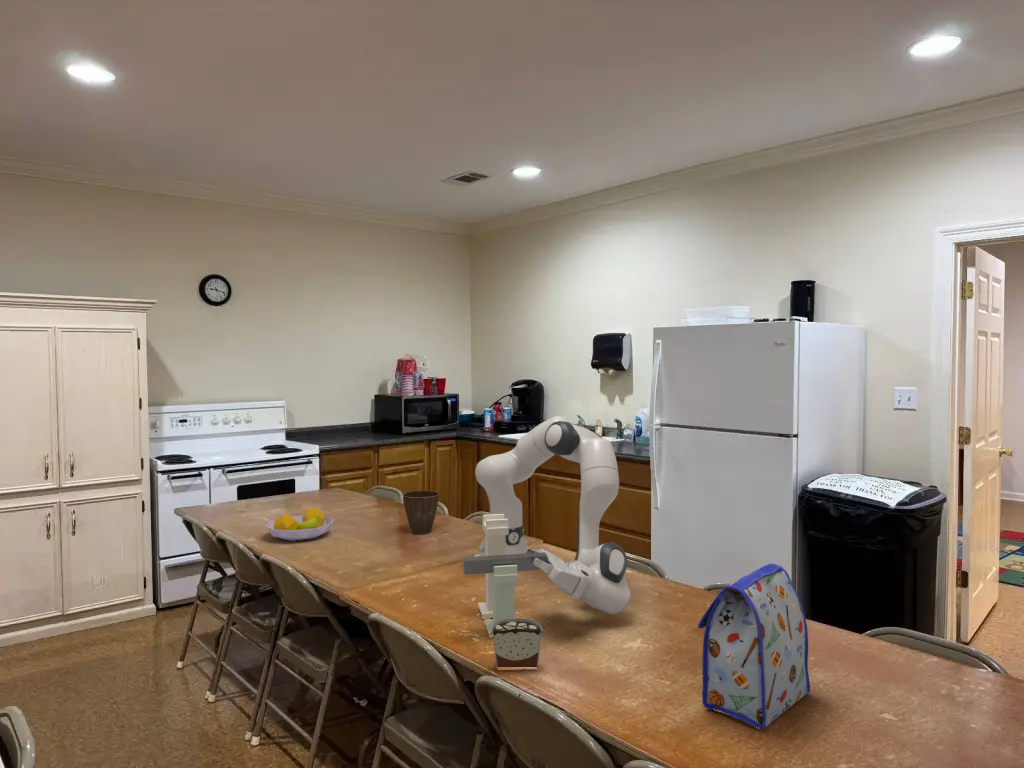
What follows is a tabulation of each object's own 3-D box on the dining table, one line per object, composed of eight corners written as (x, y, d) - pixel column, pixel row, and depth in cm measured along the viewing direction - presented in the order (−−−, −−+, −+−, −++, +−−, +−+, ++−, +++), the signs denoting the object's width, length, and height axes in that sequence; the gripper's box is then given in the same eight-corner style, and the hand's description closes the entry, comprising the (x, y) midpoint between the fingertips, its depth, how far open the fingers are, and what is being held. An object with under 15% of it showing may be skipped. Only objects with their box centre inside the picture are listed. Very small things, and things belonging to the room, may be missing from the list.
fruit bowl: (262, 533, 283) (261, 506, 282) (328, 526, 294) (328, 500, 294) (269, 550, 257) (268, 520, 257) (341, 541, 269) (341, 513, 268)
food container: (542, 658, 162) (541, 616, 162) (544, 669, 156) (543, 626, 155) (490, 659, 162) (489, 617, 161) (490, 671, 155) (489, 627, 155)
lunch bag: (739, 669, 155) (739, 553, 154) (814, 693, 144) (815, 567, 143) (690, 707, 139) (690, 577, 138) (770, 737, 127) (771, 595, 126)
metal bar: (544, 565, 182) (544, 552, 182) (547, 569, 178) (547, 556, 178) (463, 570, 178) (462, 557, 178) (464, 574, 174) (464, 561, 174)
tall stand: (508, 605, 197) (508, 512, 196) (514, 617, 188) (513, 520, 187) (478, 607, 195) (477, 514, 194) (482, 619, 186) (481, 521, 185)
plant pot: (400, 529, 287) (400, 491, 286) (435, 526, 291) (435, 489, 291) (406, 538, 273) (405, 498, 272) (442, 535, 277) (442, 496, 276)
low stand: (517, 622, 184) (516, 556, 183) (524, 635, 175) (523, 566, 174) (484, 625, 182) (483, 558, 182) (489, 638, 173) (488, 568, 173)
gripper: (569, 556, 192) (528, 534, 190) (591, 579, 172) (544, 555, 170) (559, 576, 192) (517, 554, 189) (579, 602, 172) (532, 578, 169)
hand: (530, 555), depth 179 cm, fingers open, 8 cm apart
